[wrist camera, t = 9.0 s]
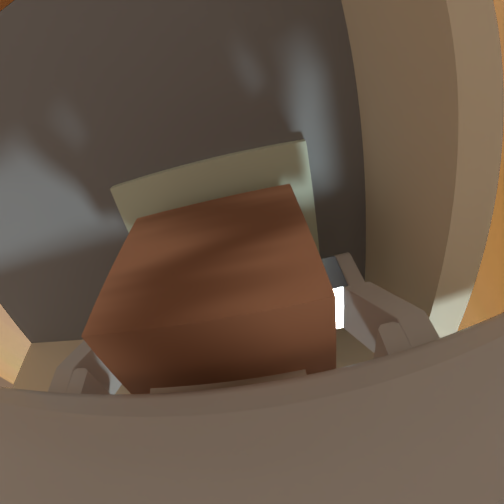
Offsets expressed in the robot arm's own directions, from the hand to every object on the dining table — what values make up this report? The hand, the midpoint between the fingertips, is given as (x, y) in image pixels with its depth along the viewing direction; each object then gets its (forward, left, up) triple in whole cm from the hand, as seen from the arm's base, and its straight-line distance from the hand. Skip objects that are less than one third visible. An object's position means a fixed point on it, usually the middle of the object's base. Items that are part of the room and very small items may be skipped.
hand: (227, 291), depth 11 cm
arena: (+4, -4, -4) cm, 7 cm away
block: (0, 0, -2) cm, 2 cm away
